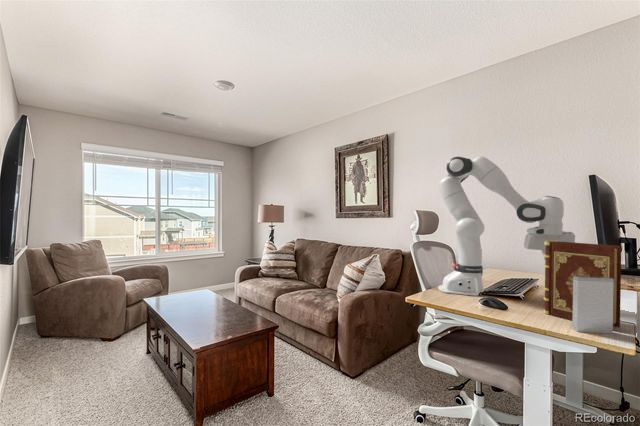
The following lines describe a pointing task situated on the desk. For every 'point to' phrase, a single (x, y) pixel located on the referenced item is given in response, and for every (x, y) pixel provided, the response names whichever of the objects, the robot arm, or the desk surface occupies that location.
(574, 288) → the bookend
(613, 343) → the desk surface
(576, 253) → the decorative book
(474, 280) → the robot arm
